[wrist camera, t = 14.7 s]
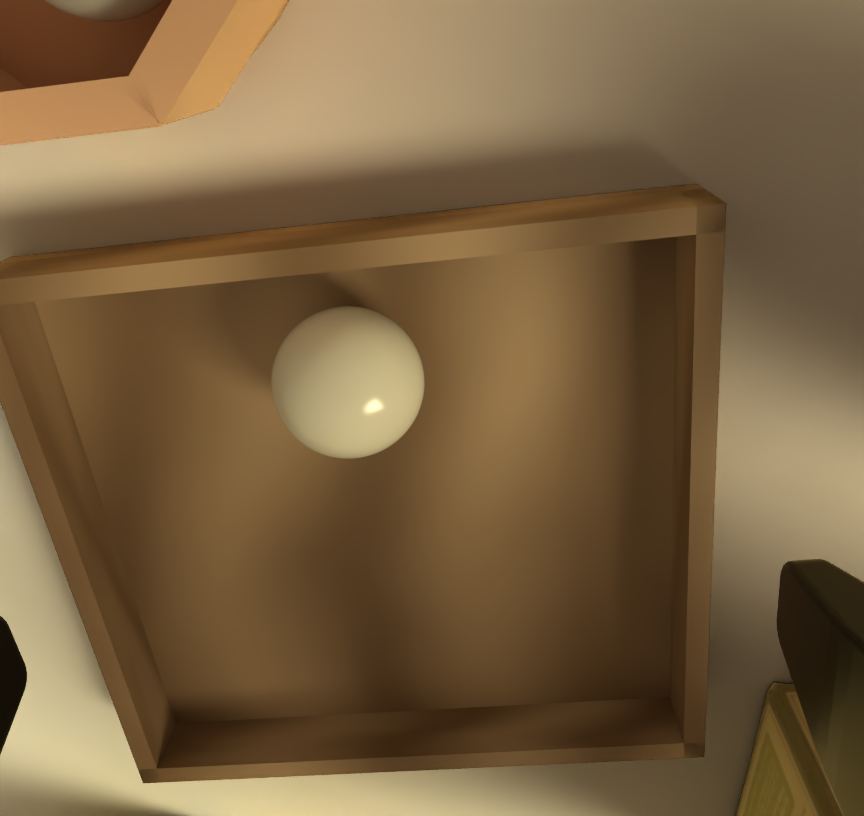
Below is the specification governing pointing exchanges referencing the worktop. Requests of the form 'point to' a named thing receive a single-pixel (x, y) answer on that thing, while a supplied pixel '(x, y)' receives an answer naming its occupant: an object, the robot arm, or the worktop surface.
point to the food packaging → (785, 764)
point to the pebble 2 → (347, 382)
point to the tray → (388, 487)
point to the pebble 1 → (105, 8)
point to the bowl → (121, 65)
